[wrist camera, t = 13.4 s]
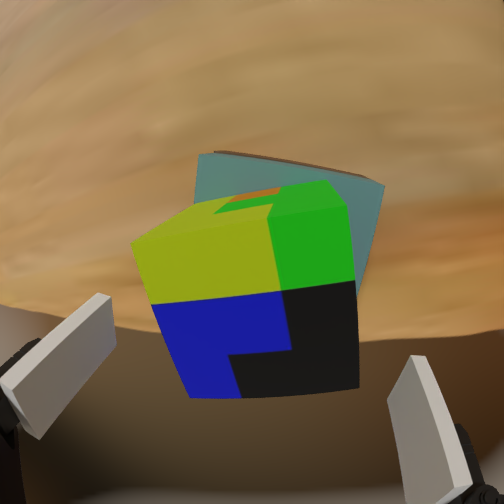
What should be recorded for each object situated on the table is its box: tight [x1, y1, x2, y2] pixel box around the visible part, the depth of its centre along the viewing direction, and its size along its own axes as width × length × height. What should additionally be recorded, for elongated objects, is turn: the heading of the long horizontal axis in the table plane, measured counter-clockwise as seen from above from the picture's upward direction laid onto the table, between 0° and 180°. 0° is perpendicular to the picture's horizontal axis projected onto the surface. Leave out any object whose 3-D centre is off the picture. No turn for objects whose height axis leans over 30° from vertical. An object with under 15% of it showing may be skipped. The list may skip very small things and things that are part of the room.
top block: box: [194, 153, 385, 296], centre depth 26 cm, size 14×14×4 cm
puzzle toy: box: [130, 179, 359, 399], centre depth 19 cm, size 10×10×10 cm
